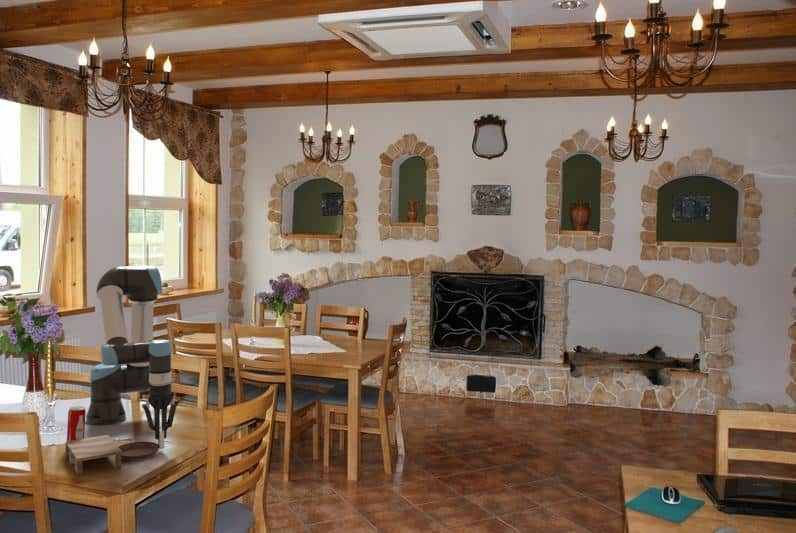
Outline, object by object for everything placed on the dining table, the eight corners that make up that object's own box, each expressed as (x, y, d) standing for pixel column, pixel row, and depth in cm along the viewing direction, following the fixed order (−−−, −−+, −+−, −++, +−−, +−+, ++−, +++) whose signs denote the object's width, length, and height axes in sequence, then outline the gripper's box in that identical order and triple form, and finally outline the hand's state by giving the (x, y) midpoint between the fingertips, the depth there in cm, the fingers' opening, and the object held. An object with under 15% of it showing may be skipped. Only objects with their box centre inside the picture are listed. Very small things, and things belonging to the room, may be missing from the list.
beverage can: (66, 446, 252) (66, 406, 251) (86, 444, 254) (85, 405, 253) (66, 452, 246) (65, 411, 245) (85, 450, 249) (85, 409, 248)
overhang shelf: (65, 458, 240) (65, 441, 240) (108, 451, 248) (108, 434, 248) (77, 477, 224) (77, 459, 223) (122, 468, 232) (122, 451, 231)
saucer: (156, 461, 239) (156, 454, 239) (111, 464, 236) (111, 456, 235) (162, 447, 253) (162, 440, 253) (119, 449, 250) (119, 442, 250)
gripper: (144, 388, 240) (145, 454, 242) (181, 383, 248) (182, 447, 250) (138, 383, 246) (139, 448, 248) (175, 379, 254) (175, 441, 256)
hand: (160, 447), depth 249 cm, fingers closed
